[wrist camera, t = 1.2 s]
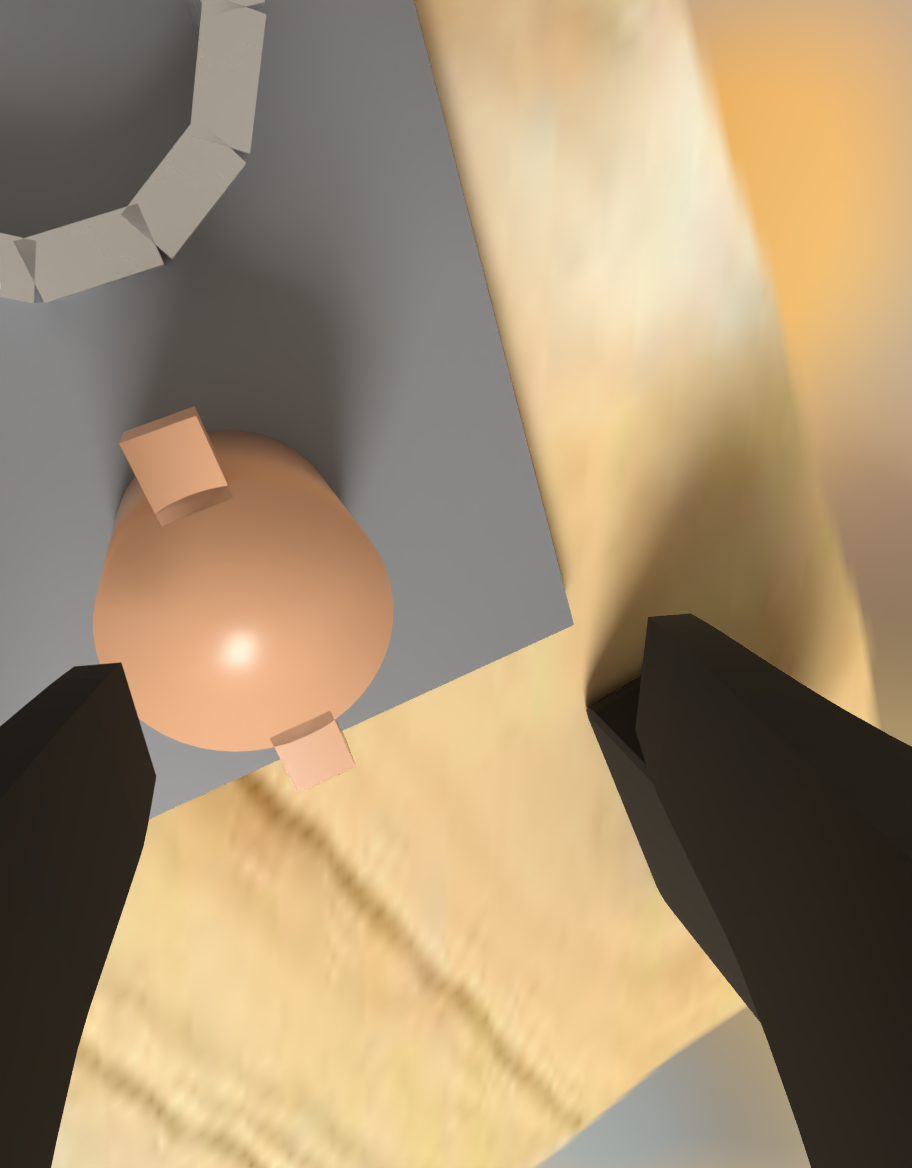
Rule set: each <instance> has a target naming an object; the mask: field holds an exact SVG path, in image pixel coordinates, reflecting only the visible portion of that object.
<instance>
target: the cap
mask: <svg viewBox="0 0 912 1168" xmlns="http://www.w3.org/2000/svg"><path fill="white" fill-rule="evenodd" d="M119 444H120V446H121V448H122V450H123V452H124V454H125V456H126V458H127V460H128V462H129V464H130V466H131V468H132V470H133V472H134V474H135V476H134V477H133V479H132V480H131V482H130V483H129V485H128V486H127V488H126V491H125V493H124V495H123V497H122V499H121V502H120V505H119V508H118V511H117V515H116V519H115V523H114V527H113V531H112V535H111V539H110V543H109V547H108V551H107V555H106V559H105V563H104V567H103V571H102V575H101V579H100V583H99V587H98V591H97V595H96V600H95V606H94V613H93V636H94V642H95V648H96V653H97V656H98V660H99V663H100V664H108V663H119V662H121V663H122V666H123V669H124V672H125V676H126V679H127V682H128V685H129V689H130V692H131V695H132V699H133V702H134V705H135V708H136V712H137V715H138V718H139V719H140V720H142V721H143V722H144V723H145V724H147V725H148V726H150V727H151V728H153V729H155V730H156V731H158V732H160V733H161V734H163V735H165V736H168V737H170V738H172V739H174V740H177V741H179V742H182V743H185V744H188V745H192V746H195V747H199V748H204V749H210V750H216V751H231V752H239V751H255V750H262V749H268V748H273V747H274V748H275V750H276V752H277V754H278V755H279V757H280V759H281V761H282V763H283V765H284V767H285V769H286V771H287V773H288V775H289V777H290V779H291V781H292V783H293V785H294V787H295V789H296V791H297V793H300V792H302V791H304V790H306V789H309V788H311V787H313V786H315V785H317V784H319V783H321V782H324V781H326V780H328V779H330V778H332V777H334V776H336V775H339V774H341V773H343V772H345V771H347V770H349V769H351V768H354V767H356V766H355V763H354V760H353V758H352V755H351V752H350V749H349V747H348V744H347V741H346V739H345V737H344V734H343V732H342V730H341V728H340V726H339V723H338V721H337V718H338V717H339V716H340V715H341V714H343V713H344V712H345V711H346V710H347V709H349V708H350V707H351V706H352V705H353V704H354V703H355V701H356V700H357V699H358V698H359V697H360V696H361V695H362V694H363V693H364V691H365V690H366V689H367V687H368V686H369V684H370V683H371V682H372V680H373V679H374V677H375V675H376V673H377V672H378V670H379V668H380V666H381V664H382V661H383V659H384V657H385V654H386V652H387V649H388V645H389V641H390V638H391V633H392V625H393V597H392V590H391V585H390V581H389V578H388V575H387V571H386V569H385V566H384V564H383V562H382V560H381V558H380V555H379V554H378V552H377V550H376V549H375V547H374V546H373V544H372V543H371V541H370V540H369V538H368V537H367V536H366V534H365V533H364V532H363V530H362V529H361V528H360V526H359V525H358V524H357V522H356V521H355V520H354V518H353V517H352V516H351V514H350V513H349V512H348V510H347V509H346V508H345V506H344V505H343V504H342V502H341V501H340V500H339V498H338V497H337V496H336V494H335V493H334V492H333V490H332V489H331V488H330V486H329V485H328V484H327V482H326V481H325V480H324V478H323V477H322V476H321V475H320V473H319V472H318V471H317V470H316V469H315V468H314V466H313V465H312V464H311V463H310V462H308V461H307V460H306V459H305V458H304V457H303V456H302V455H300V454H299V453H297V452H296V451H295V450H293V449H292V448H290V447H288V446H286V445H285V444H283V443H281V442H279V441H277V440H274V439H271V438H269V437H266V436H263V435H259V434H255V433H250V432H244V431H233V430H228V431H212V432H206V430H205V428H204V426H203V423H202V421H201V419H200V417H199V415H198V412H197V410H196V408H195V406H194V407H191V408H188V409H185V410H183V411H180V412H177V413H174V414H172V415H169V416H166V417H163V418H160V419H158V420H155V421H152V422H149V423H147V424H144V425H141V426H138V427H136V428H133V429H130V430H127V431H125V432H123V434H122V437H121V440H120V442H119Z"/></svg>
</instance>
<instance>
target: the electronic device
mask: <svg viewBox="0 0 912 1168" xmlns="http://www.w3.org/2000/svg"><path fill="white" fill-rule="evenodd" d="M640 684H641V677H639V678H637V679H636V680H634V681H632V682H630V683H629V684H627V685H625V686H624V687H622V688H620V689H619V690H617V691H615V692H614V693H612V694H610V695H608V696H607V697H605V698H603V699H602V700H600V701H598V702H597V703H595V704H593V705H592V706H590V707H588V708H587V710H586V711H587V714H588V718H589V721H590V723H591V726H592V728H593V730H594V733H595V735H596V738H597V740H598V743H599V745H600V748H601V750H602V753H603V755H604V758H605V760H606V762H607V765H608V767H609V770H610V772H611V775H612V777H613V780H614V782H615V785H616V787H617V790H618V792H619V794H620V797H621V799H622V802H623V804H624V807H625V809H626V812H627V814H628V817H629V819H630V822H631V824H632V827H633V829H634V831H635V834H636V836H637V839H638V841H639V844H640V846H641V849H642V851H643V854H644V856H645V859H646V861H647V863H648V866H649V868H650V871H651V873H652V876H653V878H654V881H655V883H656V886H657V888H658V890H659V892H660V894H661V895H662V897H663V899H664V900H665V902H666V903H667V904H668V906H669V907H670V909H671V910H672V911H673V912H674V914H675V915H676V916H677V917H678V919H679V920H680V921H681V922H682V924H683V925H684V926H685V928H686V929H687V930H688V931H689V933H690V934H691V935H692V936H693V938H694V939H695V940H696V941H697V943H698V944H699V945H700V947H701V948H702V949H703V950H704V952H705V953H706V954H707V955H708V957H709V958H710V959H711V960H712V962H713V963H714V964H715V966H716V967H717V968H718V969H719V971H720V972H721V973H722V974H723V976H724V977H725V978H726V979H727V981H728V982H729V983H730V985H731V986H732V987H733V988H734V990H735V991H736V992H737V993H738V995H739V996H740V997H741V998H742V1000H743V1001H744V1002H745V1003H746V1005H747V1006H748V1007H749V1009H750V1010H751V1011H752V1012H753V1014H754V1015H755V1016H756V1017H757V1019H758V1020H759V1021H760V1019H759V1017H758V1014H757V1011H756V1009H755V1006H754V1003H753V1001H752V998H751V995H750V993H749V990H748V987H747V985H746V982H745V979H744V977H743V974H742V971H741V969H740V966H739V964H738V962H737V959H736V957H735V955H734V953H733V950H732V948H731V946H730V944H729V941H728V939H727V937H726V935H725V932H724V930H723V928H722V926H721V924H720V922H719V920H718V918H717V916H716V914H715V912H714V910H713V908H712V906H711V904H710V902H709V900H708V898H707V896H706V894H705V892H704V890H703V888H702V886H701V884H700V882H699V880H698V878H697V876H696V874H695V872H694V870H693V868H692V866H691V863H690V861H689V859H688V857H687V855H686V853H685V851H684V849H683V847H682V845H681V843H680V841H679V839H678V837H677V835H676V833H675V831H674V829H673V827H672V825H671V823H670V821H669V818H668V816H667V814H666V812H665V810H664V808H663V806H662V804H661V802H660V800H659V797H658V795H657V793H656V791H655V788H654V785H653V782H652V779H651V776H650V774H649V771H648V768H647V765H646V762H645V759H644V756H643V753H642V749H641V746H640V743H639V740H638V737H637V734H636V731H635V728H636V719H637V710H638V702H639V693H640Z"/></svg>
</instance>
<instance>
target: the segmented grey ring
mask: <svg viewBox="0 0 912 1168" xmlns="http://www.w3.org/2000/svg"><path fill="white" fill-rule="evenodd" d="M184 1H185V3H186V6H187V9H188V12H189V14H190V17H191V20H192V22H193V25H194V28H195V31H196V33H197V36H198V39H199V40H198V50H197V61H196V71H195V82H194V92H193V103H192V113H191V124H190V125H189V127H188V128H187V129H186V131H185V132H184V133H183V135H182V136H181V137H180V138H179V140H178V141H177V142H176V144H175V145H174V146H173V148H172V149H171V150H170V151H169V153H168V154H167V155H166V157H165V158H164V159H163V161H162V162H161V163H160V164H159V166H158V167H157V168H156V170H155V171H154V172H153V174H152V175H151V176H150V177H149V179H148V180H147V181H146V183H145V184H144V185H143V187H142V188H141V189H140V190H139V192H138V193H137V194H136V196H135V197H134V198H133V200H132V201H131V202H130V203H129V205H128V206H127V207H124V208H120V209H117V210H114V211H111V212H107V213H104V214H101V215H98V216H94V217H91V218H88V219H85V220H81V221H78V222H75V223H72V224H69V225H65V226H62V227H59V228H56V229H52V230H49V231H46V232H43V233H39V234H36V235H33V236H30V237H26V238H21V237H17V236H12V235H8V234H4V233H0V297H4V298H9V299H14V300H19V301H24V302H29V303H40V302H45V303H47V302H53V301H59V300H63V299H66V298H69V297H72V296H75V295H78V294H81V293H84V292H87V291H91V290H94V289H97V288H100V287H103V286H106V285H109V284H112V283H115V282H118V281H121V280H124V279H127V278H131V277H134V276H137V275H140V274H143V273H146V272H149V271H152V270H155V269H158V268H161V267H164V266H165V265H164V262H163V260H162V258H161V255H160V253H159V251H158V250H160V251H161V252H162V253H163V254H164V255H166V256H167V257H168V258H169V259H170V260H171V261H173V260H174V258H175V257H176V256H177V255H178V253H179V252H180V251H181V249H182V248H183V247H184V246H185V244H186V243H187V242H188V240H189V239H190V238H191V237H192V235H193V234H194V233H195V232H196V230H197V229H198V228H199V226H200V225H201V224H202V223H203V221H204V220H205V219H206V217H207V216H208V215H209V214H210V212H211V211H212V210H213V208H214V207H215V206H216V205H217V203H218V202H219V201H220V199H221V198H222V197H223V196H224V194H225V193H226V192H227V190H228V189H229V188H230V187H231V185H232V184H233V183H234V181H235V180H236V179H237V178H238V176H239V174H240V173H241V171H242V169H243V168H244V166H245V164H246V162H245V161H246V160H247V158H248V156H249V155H250V150H251V142H252V133H253V125H254V116H255V108H256V99H257V90H258V82H259V73H260V65H261V56H262V48H263V39H264V31H265V22H266V14H264V13H262V9H263V6H264V3H265V0H184Z"/></svg>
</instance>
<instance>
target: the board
mask: <svg viewBox="0 0 912 1168" xmlns="http://www.w3.org/2000/svg"><path fill="white" fill-rule="evenodd" d="M262 13H264V14H266V22H265V31H264V39H263V48H262V56H261V65H260V73H259V82H258V90H257V99H256V108H255V116H254V125H253V133H252V142H251V150H250V155H249V156H248V158H247V160H246V161H245V162H246V164H245V166H244V168H243V169H242V171H241V173H240V174H239V176H238V178H237V179H236V180H235V181H234V183H233V184H232V185H231V187H230V188H229V189H228V190H227V192H226V193H225V194H224V196H223V197H222V198H221V199H220V201H219V202H218V203H217V205H216V206H215V207H214V208H213V210H212V211H211V212H210V214H209V215H208V216H207V217H206V219H205V220H204V221H203V223H202V224H201V225H200V226H199V228H198V229H197V230H196V232H195V233H194V234H193V235H192V237H191V238H190V239H189V240H188V242H187V243H186V244H185V246H184V247H183V248H182V249H181V251H180V252H179V253H178V255H177V256H176V257H175V258H174V260H173V261H171V260H170V259H169V258H168V257H167V256H166V255H164V254H163V253H162V252H161V251H160V250H158V251H159V253H160V255H161V258H162V260H163V262H164V265H165V266H164V267H161V268H158V269H155V270H152V271H149V272H146V273H143V274H140V275H137V276H134V277H131V278H127V279H124V280H121V281H118V282H115V283H112V284H109V285H106V286H103V287H100V288H97V289H94V290H91V291H87V292H84V293H81V294H78V295H75V296H72V297H69V298H66V299H63V300H59V301H53V302H47V303H45V302H40V303H29V302H24V301H19V300H14V299H9V298H4V297H0V726H1V725H2V724H3V723H5V722H6V721H7V720H8V719H9V718H11V717H12V716H13V715H14V714H15V713H17V712H18V711H19V710H20V709H21V708H23V707H24V706H25V705H26V704H27V703H29V702H30V701H31V700H32V699H33V698H34V697H36V696H37V695H38V694H39V693H41V692H42V691H43V690H44V689H45V688H47V687H48V686H49V685H50V684H52V683H53V682H54V681H55V680H57V679H58V678H59V677H60V676H62V675H63V674H65V673H66V672H67V671H69V670H70V669H71V668H73V667H74V666H84V665H96V664H100V663H99V660H98V656H97V653H96V648H95V642H94V636H93V613H94V606H95V600H96V595H97V591H98V587H99V583H100V579H101V575H102V571H103V567H104V563H105V559H106V555H107V551H108V547H109V543H110V539H111V535H112V531H113V527H114V523H115V519H116V515H117V511H118V508H119V505H120V502H121V499H122V497H123V495H124V493H125V491H126V488H127V486H128V485H129V483H130V482H131V480H132V479H133V477H134V476H135V474H134V472H133V470H132V468H131V466H130V464H129V462H128V460H127V458H126V456H125V454H124V452H123V450H122V448H121V446H120V444H119V442H120V440H121V437H122V434H123V432H125V431H127V430H130V429H133V428H136V427H138V426H141V425H144V424H147V423H149V422H152V421H155V420H158V419H160V418H163V417H166V416H169V415H172V414H174V413H177V412H180V411H183V410H185V409H188V408H191V407H194V406H195V408H196V410H197V412H198V415H199V417H200V419H201V421H202V423H203V426H204V428H205V430H206V432H212V431H228V430H233V431H244V432H250V433H255V434H259V435H263V436H266V437H269V438H271V439H274V440H277V441H279V442H281V443H283V444H285V445H286V446H288V447H290V448H292V449H293V450H295V451H296V452H297V453H299V454H300V455H302V456H303V457H304V458H305V459H306V460H307V461H308V462H310V463H311V464H312V465H313V466H314V468H315V469H316V470H317V471H318V472H319V473H320V475H321V476H322V477H323V478H324V480H325V481H326V482H327V484H328V485H329V486H330V488H331V489H332V490H333V492H334V493H335V494H336V496H337V497H338V498H339V500H340V501H341V502H342V504H343V505H344V506H345V508H346V509H347V510H348V512H349V513H350V514H351V516H352V517H353V518H354V520H355V521H356V522H357V524H358V525H359V526H360V528H361V529H362V530H363V532H364V533H365V534H366V536H367V537H368V538H369V540H370V541H371V543H372V544H373V546H374V547H375V549H376V550H377V552H378V554H379V555H380V558H381V560H382V562H383V564H384V566H385V569H386V571H387V575H388V578H389V581H390V585H391V590H392V597H393V625H392V633H391V638H390V641H389V645H388V649H387V652H386V654H385V657H384V659H383V661H382V664H381V666H380V668H379V670H378V672H377V673H376V675H375V677H374V679H373V680H372V682H371V683H370V684H369V686H368V687H367V689H366V690H365V691H364V693H363V694H362V695H361V696H360V697H359V698H358V699H357V700H356V701H355V703H354V704H353V705H352V706H351V707H350V708H349V709H347V710H346V711H345V712H344V713H343V714H341V715H340V716H339V717H338V718H337V721H338V723H339V726H340V728H341V730H342V731H343V730H345V729H347V728H349V727H351V726H354V725H356V724H358V723H360V722H362V721H364V720H367V719H369V718H371V717H373V716H375V715H378V714H380V713H382V712H384V711H386V710H389V709H391V708H393V707H395V706H397V705H399V704H402V703H404V702H406V701H408V700H410V699H413V698H415V697H417V696H419V695H421V694H424V693H426V692H428V691H430V690H432V689H434V688H437V687H439V686H441V685H443V684H445V683H448V682H450V681H452V680H454V679H456V678H459V677H461V676H463V675H465V674H467V673H469V672H472V671H474V670H476V669H478V668H480V667H483V666H485V665H487V664H489V663H491V662H493V661H496V660H498V659H500V658H502V657H504V656H507V655H509V654H511V653H513V652H515V651H518V650H520V649H522V648H524V647H526V646H528V645H531V644H533V643H535V642H537V641H539V640H542V639H544V638H546V637H548V636H550V635H553V634H555V633H557V632H559V631H561V630H563V629H566V628H568V627H570V626H572V625H574V624H573V620H572V616H571V612H570V608H569V604H568V600H567V597H566V593H565V589H564V585H563V581H562V577H561V573H560V569H559V565H558V561H557V558H556V554H555V550H554V546H553V542H552V538H551V534H550V530H549V526H548V522H547V518H546V515H545V511H544V507H543V503H542V499H541V495H540V491H539V487H538V483H537V479H536V476H535V472H534V468H533V464H532V460H531V456H530V452H529V448H528V444H527V440H526V436H525V433H524V429H523V425H522V421H521V417H520V413H519V409H518V405H517V401H516V397H515V394H514V390H513V386H512V382H511V378H510V374H509V370H508V366H507V362H506V358H505V355H504V351H503V347H502V343H501V339H500V335H499V331H498V327H497V323H496V319H495V315H494V312H493V308H492V304H491V300H490V296H489V292H488V288H487V284H486V280H485V276H484V273H483V269H482V265H481V261H480V257H479V253H478V249H477V245H476V241H475V237H474V234H473V230H472V226H471V222H470V218H469V214H468V210H467V206H466V202H465V198H464V194H463V191H462V187H461V183H460V179H459V175H458V171H457V167H456V163H455V159H454V155H453V152H452V148H451V144H450V140H449V136H448V132H447V128H446V124H445V120H444V116H443V113H442V109H441V105H440V101H439V97H438V93H437V89H436V85H435V81H434V77H433V73H432V70H431V66H430V62H429V58H428V54H427V50H426V46H425V42H424V38H423V34H422V31H421V27H420V23H419V19H418V15H417V11H416V7H415V3H414V0H265V3H264V6H263V9H262ZM198 40H199V39H198V36H197V33H196V31H195V28H194V25H193V22H192V20H191V17H190V14H189V12H188V9H187V6H186V3H185V1H184V0H0V233H4V234H8V235H12V236H17V237H21V238H26V237H30V236H33V235H36V234H39V233H43V232H46V231H49V230H52V229H56V228H59V227H62V226H65V225H69V224H72V223H75V222H78V221H81V220H85V219H88V218H91V217H94V216H98V215H101V214H104V213H107V212H111V211H114V210H117V209H120V208H124V207H127V206H128V205H129V203H130V202H131V201H132V200H133V198H134V197H135V196H136V194H137V193H138V192H139V190H140V189H141V188H142V187H143V185H144V184H145V183H146V181H147V180H148V179H149V177H150V176H151V175H152V174H153V172H154V171H155V170H156V168H157V167H158V166H159V164H160V163H161V162H162V161H163V159H164V158H165V157H166V155H167V154H168V153H169V151H170V150H171V149H172V148H173V146H174V145H175V144H176V142H177V141H178V140H179V138H180V137H181V136H182V135H183V133H184V132H185V131H186V129H187V128H188V127H189V125H190V124H191V113H192V103H193V92H194V82H195V71H196V61H197V50H198ZM139 721H140V725H141V728H142V731H143V734H144V738H145V741H146V744H147V747H148V751H149V754H150V757H151V761H152V764H153V767H154V770H155V774H156V782H155V788H154V794H153V799H152V805H151V811H150V816H149V819H150V818H152V817H155V816H157V815H159V814H161V813H163V812H165V811H168V810H170V809H172V808H174V807H176V806H179V805H181V804H183V803H185V802H187V801H190V800H192V799H194V798H196V797H198V796H200V795H203V794H205V793H207V792H209V791H211V790H214V789H216V788H218V787H220V786H222V785H225V784H227V783H229V782H231V781H233V780H235V779H238V778H240V777H242V776H244V775H246V774H249V773H251V772H253V771H255V770H257V769H259V768H262V767H264V766H266V765H268V764H270V763H273V762H275V761H277V760H279V759H280V757H279V755H278V754H277V752H276V750H275V748H274V747H273V748H268V749H262V750H255V751H239V752H231V751H216V750H210V749H204V748H199V747H195V746H192V745H188V744H185V743H182V742H179V741H177V740H174V739H172V738H170V737H168V736H165V735H163V734H161V733H160V732H158V731H156V730H155V729H153V728H151V727H150V726H148V725H147V724H145V723H144V722H143V721H142V720H140V719H139Z"/></svg>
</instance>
